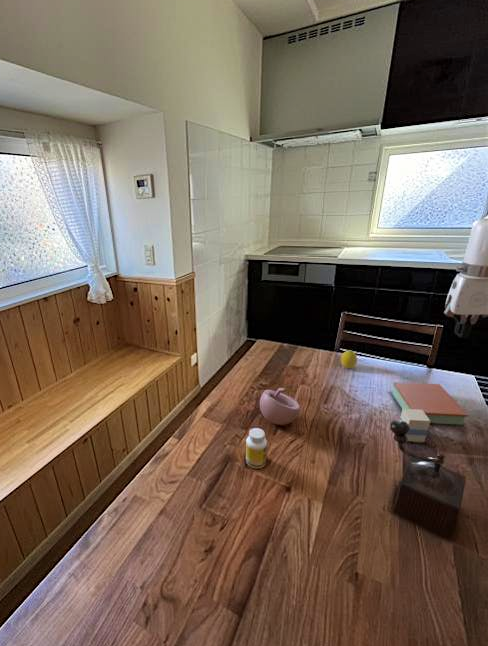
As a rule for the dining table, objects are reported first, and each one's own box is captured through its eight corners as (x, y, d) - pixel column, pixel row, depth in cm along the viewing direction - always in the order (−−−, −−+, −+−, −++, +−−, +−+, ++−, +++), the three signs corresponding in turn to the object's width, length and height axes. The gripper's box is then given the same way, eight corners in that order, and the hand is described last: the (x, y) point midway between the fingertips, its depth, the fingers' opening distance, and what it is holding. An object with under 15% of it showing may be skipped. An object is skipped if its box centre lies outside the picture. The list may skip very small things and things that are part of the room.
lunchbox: (461, 426, 98) (465, 416, 96) (409, 423, 100) (412, 413, 99) (435, 395, 112) (438, 386, 110) (391, 393, 114) (393, 384, 113)
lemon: (341, 371, 129) (343, 353, 125) (338, 364, 134) (341, 346, 130) (356, 372, 127) (359, 354, 124) (353, 365, 132) (356, 347, 129)
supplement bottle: (266, 470, 88) (267, 441, 84) (245, 468, 89) (245, 439, 85) (266, 455, 93) (267, 426, 89) (246, 453, 94) (246, 425, 90)
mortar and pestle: (307, 424, 103) (310, 393, 98) (275, 438, 98) (277, 406, 94) (281, 404, 113) (282, 375, 108) (251, 416, 108) (252, 386, 104)
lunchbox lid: (467, 417, 95) (468, 414, 95) (414, 414, 98) (414, 412, 97) (438, 386, 110) (439, 383, 110) (393, 384, 113) (393, 382, 112)
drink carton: (416, 432, 97) (422, 409, 94) (424, 444, 92) (430, 421, 89) (396, 430, 98) (402, 408, 95) (403, 443, 93) (409, 420, 90)
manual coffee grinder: (456, 504, 75) (480, 442, 68) (449, 541, 68) (474, 477, 61) (380, 471, 85) (393, 414, 78) (367, 500, 78) (380, 440, 70)
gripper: (454, 274, 83) (437, 341, 91) (525, 272, 80) (501, 341, 88) (439, 267, 90) (424, 329, 97) (504, 265, 87) (483, 330, 94)
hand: (461, 335), depth 93 cm, fingers closed
